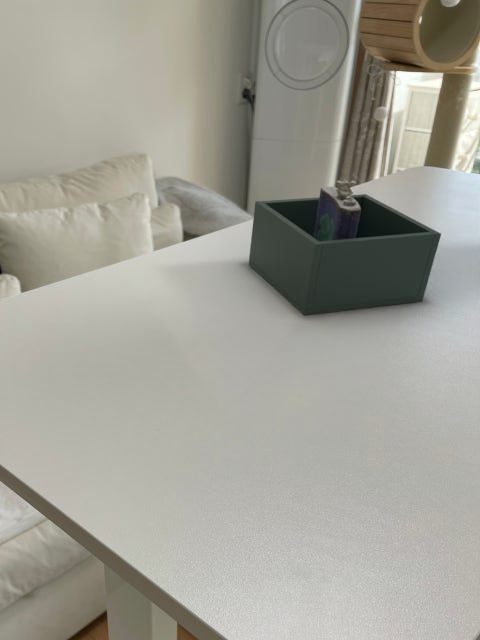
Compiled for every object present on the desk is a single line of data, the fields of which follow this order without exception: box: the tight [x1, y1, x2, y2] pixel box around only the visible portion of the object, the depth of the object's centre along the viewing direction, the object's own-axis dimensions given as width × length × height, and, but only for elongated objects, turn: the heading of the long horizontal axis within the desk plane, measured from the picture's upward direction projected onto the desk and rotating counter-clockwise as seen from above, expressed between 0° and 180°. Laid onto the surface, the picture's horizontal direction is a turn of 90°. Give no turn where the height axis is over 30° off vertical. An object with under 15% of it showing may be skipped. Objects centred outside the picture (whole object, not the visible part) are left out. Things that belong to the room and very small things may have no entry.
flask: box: [313, 180, 361, 242], centre depth 72 cm, size 9×3×11 cm, turn 5°
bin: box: [248, 193, 442, 316], centre depth 73 cm, size 15×15×8 cm
